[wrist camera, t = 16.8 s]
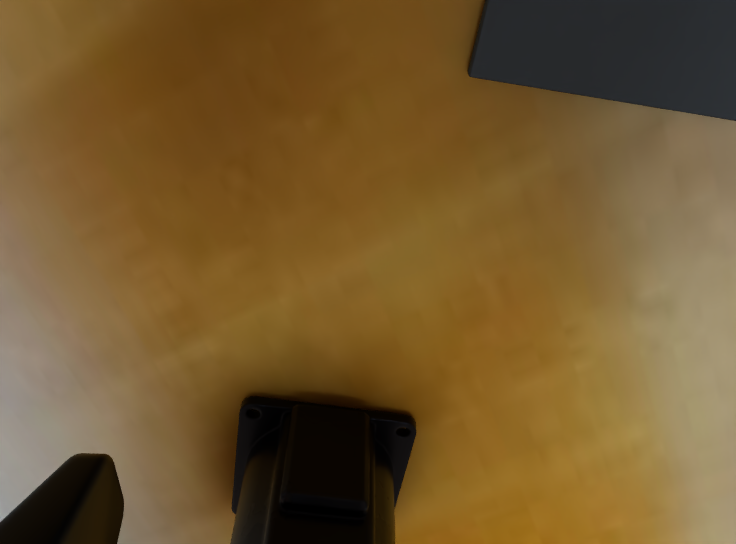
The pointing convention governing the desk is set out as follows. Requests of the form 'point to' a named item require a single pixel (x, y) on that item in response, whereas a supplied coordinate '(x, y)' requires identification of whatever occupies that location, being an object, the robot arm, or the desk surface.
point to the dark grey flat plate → (615, 50)
